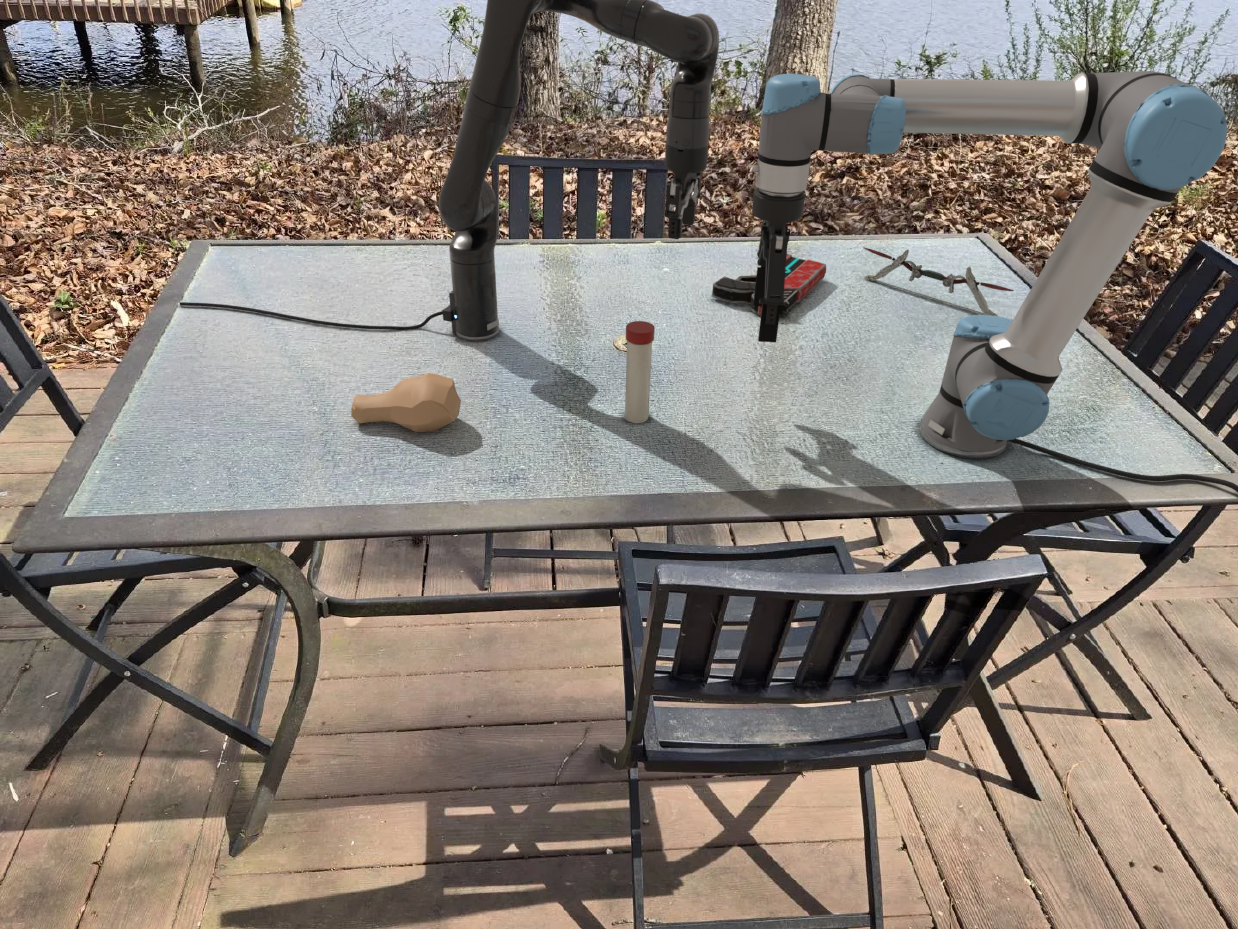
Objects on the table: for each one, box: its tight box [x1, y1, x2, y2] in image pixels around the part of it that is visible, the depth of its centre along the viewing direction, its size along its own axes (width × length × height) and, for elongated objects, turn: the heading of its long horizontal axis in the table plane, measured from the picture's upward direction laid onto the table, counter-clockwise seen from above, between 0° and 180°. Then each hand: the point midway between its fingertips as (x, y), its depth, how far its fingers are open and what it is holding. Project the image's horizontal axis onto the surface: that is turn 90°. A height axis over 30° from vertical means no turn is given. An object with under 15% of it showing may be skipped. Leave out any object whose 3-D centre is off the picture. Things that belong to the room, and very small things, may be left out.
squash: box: [350, 372, 462, 433], centre depth 158 cm, size 11×20×9 cm, turn 90°
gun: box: [711, 253, 827, 318], centre depth 215 cm, size 4×31×19 cm
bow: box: [863, 247, 1015, 316], centre depth 212 cm, size 39×2×10 cm, turn 47°
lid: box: [625, 320, 656, 345], centre depth 154 cm, size 5×5×2 cm
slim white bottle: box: [624, 340, 653, 424], centre depth 159 cm, size 4×4×18 cm
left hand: (681, 231), depth 164 cm, fingers open, 8 cm apart
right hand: (764, 322), depth 141 cm, fingers open, 13 cm apart
